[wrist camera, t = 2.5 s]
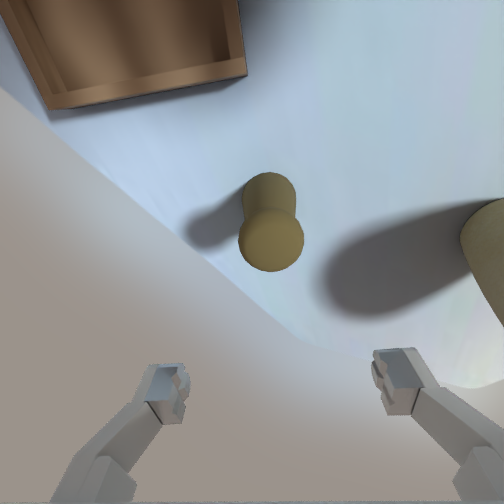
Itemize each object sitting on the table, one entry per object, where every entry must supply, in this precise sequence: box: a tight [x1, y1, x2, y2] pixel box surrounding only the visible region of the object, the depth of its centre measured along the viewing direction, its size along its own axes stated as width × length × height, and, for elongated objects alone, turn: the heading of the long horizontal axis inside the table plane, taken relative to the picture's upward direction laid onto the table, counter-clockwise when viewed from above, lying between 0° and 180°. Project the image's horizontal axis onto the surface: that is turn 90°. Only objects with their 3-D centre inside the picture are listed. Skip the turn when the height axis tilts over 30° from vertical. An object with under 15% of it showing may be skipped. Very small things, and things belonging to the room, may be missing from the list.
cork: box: [238, 172, 304, 272], centre depth 23 cm, size 6×6×11 cm
